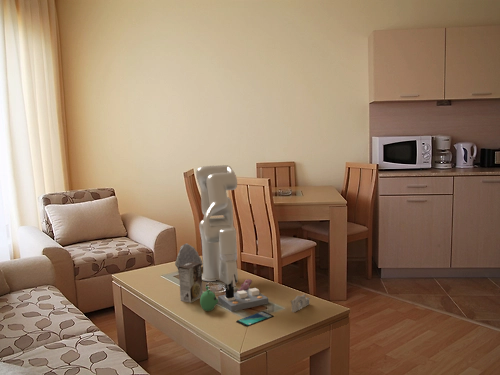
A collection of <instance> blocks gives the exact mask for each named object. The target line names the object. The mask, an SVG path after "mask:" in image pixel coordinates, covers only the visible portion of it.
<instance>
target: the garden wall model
mask: <svg viewBox="0 0 500 375" xmlns="http://www.w3.org/2000/svg"><path fill="white" fill-rule="evenodd" d="M310 299H311V297H307V295H306V294H302V295H296V296H295V298H294V299H293V300H290V302H291V312H292V313H296V312H297V311H301V310H302V309H303V308H305V307H306V306H307V307H308V306H309V305H310ZM300 309H301V310H300Z"/></svg>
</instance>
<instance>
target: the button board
mask: <svg viewBox="0 0 500 375" xmlns="http://www.w3.org/2000/svg"><path fill="white" fill-rule="evenodd" d="M246 292H247V297H246V298H241V299H240V298H238V297H237V293H236V292H234V297H235V300H231V301H226V300H225V299H224V297H225V296H226V294H220V295H217V297H218V298H217V299H218V303H220V304H221V305H222V306H223V307H225V308H226V309H227V310H228V311H229V312H235V311H241V310H246V309H250V308H253V307H258V306H262V305H267V304H269V302H270V301H269V297H267V296H266V295H264V293H263V294H262V292H259V295H255V296H251V295H249V293H248V290H246Z"/></svg>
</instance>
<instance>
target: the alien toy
mask: <svg viewBox="0 0 500 375" xmlns="http://www.w3.org/2000/svg"><path fill="white" fill-rule="evenodd" d="M209 288H210V286H205V289H206V291H203V294H202V295H201V297H200V298H199V304H200V307H201V308H202V309H203V310H204V311H206V312H210V311H213V310H214V309H215V307H216V305H217V304H218V303H219V302H218V298H217V296H216V294H215V292H213V291H211V290H210V289H209Z"/></svg>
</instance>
